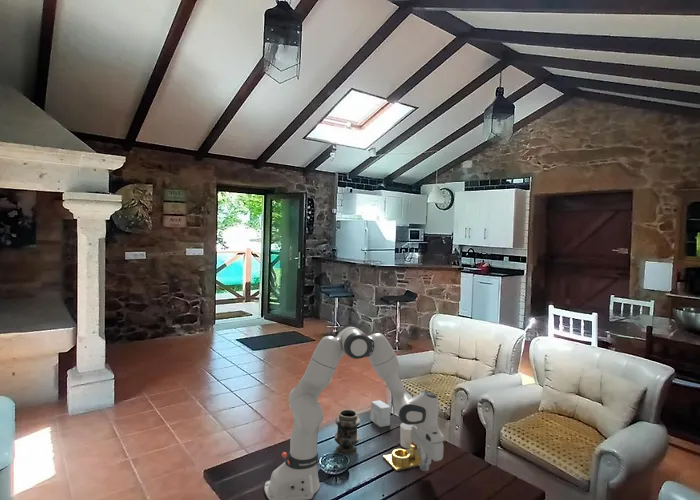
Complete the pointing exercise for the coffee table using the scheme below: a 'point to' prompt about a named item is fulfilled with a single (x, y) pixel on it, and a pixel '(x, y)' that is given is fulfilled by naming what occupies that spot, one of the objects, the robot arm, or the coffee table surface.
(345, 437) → the apothecary jar
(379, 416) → the skincare box
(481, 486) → the coffee table surface
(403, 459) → the brass valve fitting
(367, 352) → the robot arm
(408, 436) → the white cup
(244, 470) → the coffee table surface
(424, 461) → the silver metal cylinder
